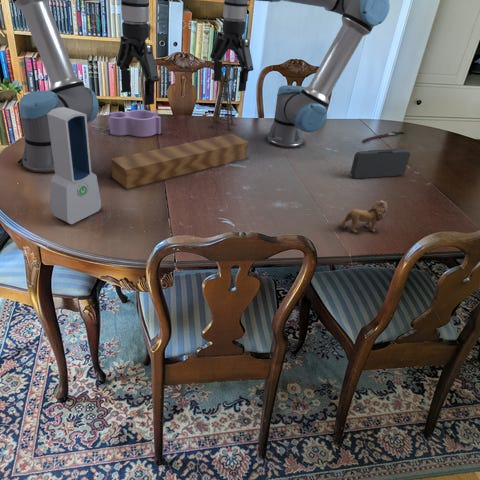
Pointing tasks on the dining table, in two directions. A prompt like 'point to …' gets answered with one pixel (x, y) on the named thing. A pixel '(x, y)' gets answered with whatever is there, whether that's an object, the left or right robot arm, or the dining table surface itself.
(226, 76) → the miniature windmill
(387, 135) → the sword
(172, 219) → the dining table surface
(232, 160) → the wide beam
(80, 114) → the electronic device
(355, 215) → the lion figurine
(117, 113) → the purple desk organizer
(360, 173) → the handheld gaming console
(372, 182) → the dining table surface
